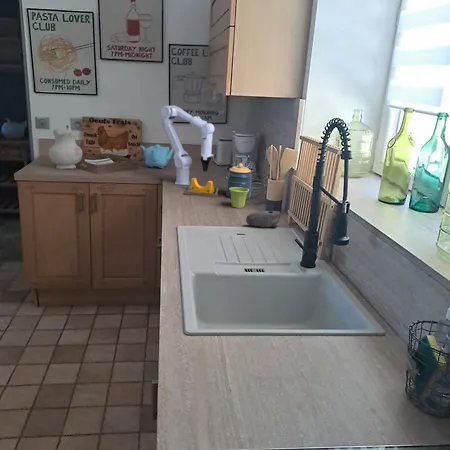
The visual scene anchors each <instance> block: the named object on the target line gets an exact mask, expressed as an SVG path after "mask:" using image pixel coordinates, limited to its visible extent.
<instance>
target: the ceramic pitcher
mask: <svg viewBox="0 0 450 450" xmlns="http://www.w3.org/2000/svg"><path fill="white" fill-rule="evenodd" d="M65 127H66V129H65V131H63V130H62V131H59V128H54V129H53V130H52V131H53V132H52V134H53V136H54V141H55V142H54V144H53V145H52V146H50V148H49V149H48V156H49V159H50V161H51V162H52V163H53V164H55V165H56V166H55V167H56V169H57V168H59V169H58V170H65V169H67V170H68V169H71V170H73V169H75V168H76V167H77V166H76V164H78V163H80V162H81V160H82V158H83V150H82V148H81V147H80V146H79V145H77V142H76V137H77V136H78V133H77V132H76V131H75V132H73V131H72V128H71V126H70V125H69V124H67V125H65Z"/></svg>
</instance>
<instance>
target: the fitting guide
mask: <svg viewBox="0 0 450 450" xmlns="http://www.w3.org/2000/svg"><path fill="white" fill-rule="evenodd" d="M218 193H219V187H216V189H215V193H203V192H197V191H192V190H191V184H189V185H188V187H187V190H186V191H184V194H185V195H186V196H193V197H194V196H195V197H196V196H197V197H210V198H218V197H219V194H218Z"/></svg>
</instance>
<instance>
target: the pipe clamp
mask: <svg viewBox="0 0 450 450" xmlns="http://www.w3.org/2000/svg"><path fill="white" fill-rule="evenodd" d="M190 186H191V190H190V191H191V192H198V193H212V194H215V193H214V192H215V186H214V181H212V180H209V181H207V183H206V185H205V186H201V185H200V184H199V182H198V180H197V178H196V177H192V178H190Z"/></svg>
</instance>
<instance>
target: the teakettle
mask: <svg viewBox="0 0 450 450" xmlns="http://www.w3.org/2000/svg"><path fill="white" fill-rule="evenodd" d="M139 147H140V148H141V149H142V150H143V155H144V157H145V166H147V167H153V168H154V167H158V169H159V168H165V167H164V166H166V167H167V165H168V164H170V159H171V158H172V154H173V153H174V151H173V149H172V148H171V149H170V147H169V146H161V144H155V145H151V146H148V147H147V148H146V147H145V146H144V145H139Z"/></svg>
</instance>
